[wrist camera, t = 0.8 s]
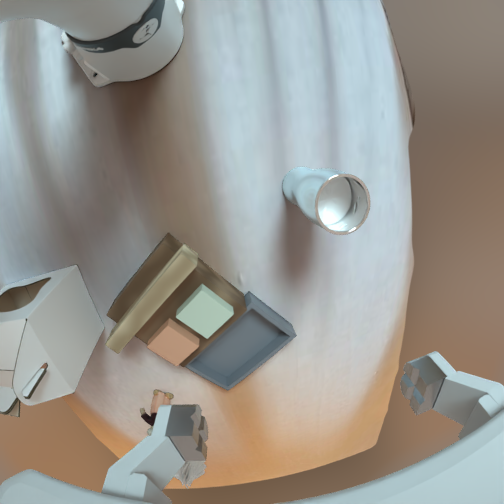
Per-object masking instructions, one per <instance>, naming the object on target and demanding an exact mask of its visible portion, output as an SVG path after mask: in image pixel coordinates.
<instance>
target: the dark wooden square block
mask: <svg viewBox="0 0 504 504" xmlns="http://www.w3.org/2000/svg"><path fill="white" fill-rule="evenodd" d="M181 246H182V244H181V243H180V242H179V241H178V240H176V239H175V238H174V237H173V236H172V235H170V234H169V233H168V234H167V235H166V236H165V237H164V238H163V239H162V241H161V242H160V243H159V244H158V245H157V247H156V248H155V249H154V250H153V252H152V253H151V254H150V255H149V256H148V258H147V259H146V260H145V261H144V263H143V264H142V265H141V266H140V268H139V269H138V270H137V272H136V273H135V274H134V275H133V277H132V278H131V279H130V280H129V282H128V283H127V284H126V286H125V287H124V288H123V290H122V291H121V292H120V294H119V295H118V296H117V298H116V299H115V301H114V302H113V304H112V306H111V308H110V309H109V311H108V313H107V316H108V317H110V318H111V319H112V320H114V321H115V322H116V323H118V322H119V321H120V319H121V318H122V317H123V316H124V314H125V313H126V312H127V310H128V309H129V308H130V307H131V306H132V304H133V303H134V302H135V301H136V299H137V298H138V297H139V296H140V294H141V293H142V292H143V291H144V290H145V288H146V287H147V286H148V285H149V284H150V282H151V281H152V280H153V279H154V278H155V276H156V275H157V274H158V273H159V272H160V271H161V269H162V268H163V267H164V266H165V265H166V264H167V262H168V261H169V260H170V259H171V258H172V257H173V255H174V254H175V253H176V252H177V251H178V250H179V249H180V247H181ZM201 284H203V285H205V286H206V287H207V288H209V289H210V290H211V291H212V292H214V293H215V294H216V295H218V296H219V297H220V298H222V299H223V300H224V301H226V302H227V303H228V304H230V305H231V306H232V307H233V311H234V315H233V316H232V317H230V318H229V319H228V320H227V321H226V322H225V323H224V324H223V325H222V326H221V327H220V328H219V329H218V330H216V331H215V332H214V333H213V334H212V335H211V336H210V337H209V338H208V339H207V338H205V337H204V336H202V335H201V334H199V333H198V332H196V331H195V330H193V329H192V328H190V327H189V326H187V325H186V324H184V323H183V322H182V321H180V320H179V319H177V318H176V312H177V309H178V308H179V307H180V306H181V305H182V304H183V303H184V302H185V301H186V300H187V299H188V298H189V297H190V296H191V295H192V294H193V293H194V291H195V290H196V289H197V288H198V287H199V286H200V285H201ZM245 311H247V307H246V302H245V298H244V294H243V293H242V292H240V291H239V290H238V289H237V288H235V287H234V286H233V285H231V284H230V283H229V282H228V281H226V280H225V279H224V278H223V277H221V276H220V275H219V274H218V273H216V272H215V271H214V270H213V269H212V268H210V267H209V266H208V265H207V264H205V263H204V262H203V261H202V260H200V259H199V258H198V260H197V266H196V267H195V269H194V270H193V271H192V272H191V273H190V274H189V275H188V276H187V277H186V278H185V279H184V280H183V282H182V283H181V284H180V285H179V286H178V287H177V288H176V289H175V290H174V291H173V293H172V294H171V295H170V296H169V297H168V298H167V299H166V300H165V301H164V303H163V304H162V305H161V306H160V307H159V308H158V309H157V310H156V311H155V313H154V314H153V315H152V316H151V317H150V318H149V319H148V320H147V322H146V323H145V324H144V325H143V326H142V327H141V328H140V330H139V331H138V332H137V333H136V334H135V335H134V336H136V337H137V338H139V339H140V340H142V341H143V342H145V343H146V344H148V341H149V339H150V338H151V337H152V336H153V335H154V334H155V333H156V332H157V331H158V329H159V328H160V327H161V326H162V325H163V324H164V323H165V322H166V321H167V320H168V319H169V318H170V319H171V320H173V321H174V322H176V323H177V324H179V325H180V326H181V327H183V328H184V329H186V330H187V331H189V332H190V333H192V334H193V335H195V336H196V337H198V338H199V347H198V348H197V349H196V350H195V351H194V352H192V353H191V354H190V355H189V356H188V357H187V358H186V359H185V360H184V361H182V362H181V363H180V364H179V365H181V366H183V367H185V366H186V365H187V364H188V363H189V362H190V361H191V360H193V359H194V358H195V357H196V356H197V355H198V354H199V353H200V352H202V351H203V350H204V349H205V348H206V347H207V346H208V345H209V344H211V343H212V342H213V341H214V340H215V339H216V338H217V337H218V336H219V335H220V334H222V333H223V332H224V331H225V330H226V329H227V328H228V327H229V326H230V325H231V324H233V323H234V322H235V321H236V320H237V319H238V318H239V317H240V316H241V315H242V314H243V313H244V312H245Z"/></svg>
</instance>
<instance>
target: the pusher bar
mask: <svg viewBox="0 0 504 504" xmlns="http://www.w3.org/2000/svg"><path fill="white" fill-rule="evenodd" d="M197 260H198V254H197V253H196V252H194V251H193V250H192V249H191V248H190V247H188V246H187V245H186V244H185V243H184V244H183V245H182V246H181V247H180V249H179V250H178V251H177V252H176V253H175V254H174V255H173V257H172V258H171V259H170V260H169V261H168V262H167V264H166V265H165V266H164V267H163V268H162V269H161V271H160V272H159V273H158V274H157V275H156V276H155V278H154V279H153V280H152V281H151V282H150V284H149V285H148V286H147V287H146V288H145V290H144V291H143V292H142V293H141V294H140V296H139V297H138V298H137V299H136V301H135V302H134V303H133V304H132V306H131V307H130V308H129V309H128V310H127V312H126V313H125V314H124V316H123V317H122V318H121V319H120V321H119V322H118V323H117V324H116V326H115V327H114V328H113V330H112V331H111V333H110V336H109V338H108V340H107V342H106V344H105V345H106V346H107V347H109V348H110V349H112V350H113V351H115V352H116V353H117V354H119V353H120V351H121V350H122V349H123V348H124V347H125V346H126V344H127V343H128V342H129V341H130V340H131V339H132V338H133V336H134V335H135V334H136V333H137V332H138V331H139V330H140V328H141V327H142V326H143V325H144V324H145V323H146V322H147V320H148V319H149V318H150V317H151V316H152V315H153V314H154V313H155V311H156V310H157V309H158V308H159V307H160V306H161V305H162V304H163V303H164V301H165V300H166V299H167V298H168V297H169V296H170V295H171V294H172V293H173V291H174V290H175V289H176V288H177V287H178V286H179V285H180V284H181V283H182V282H183V280H184V279H185V278H186V277H187V276H188V275H189V274H190V273H191V272H192V271H193V270H194V269H195V267H196V266H197Z"/></svg>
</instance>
